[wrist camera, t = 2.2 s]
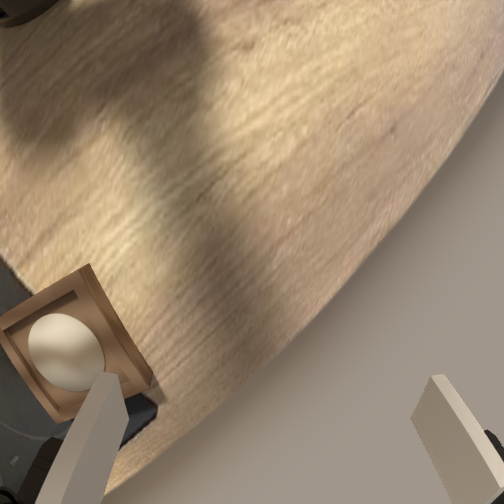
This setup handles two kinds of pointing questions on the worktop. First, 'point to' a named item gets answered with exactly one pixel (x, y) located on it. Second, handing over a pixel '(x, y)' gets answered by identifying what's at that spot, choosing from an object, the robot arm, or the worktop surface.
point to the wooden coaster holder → (71, 344)
